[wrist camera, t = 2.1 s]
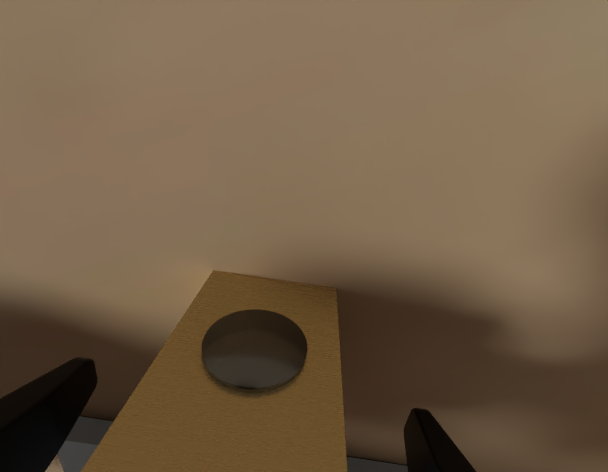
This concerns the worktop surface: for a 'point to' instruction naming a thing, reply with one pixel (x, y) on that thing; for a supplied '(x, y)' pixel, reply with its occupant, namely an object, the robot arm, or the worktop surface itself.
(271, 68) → the worktop surface
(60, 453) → the grey plate with pegs
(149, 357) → the worktop surface
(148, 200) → the worktop surface
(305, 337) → the tan block
